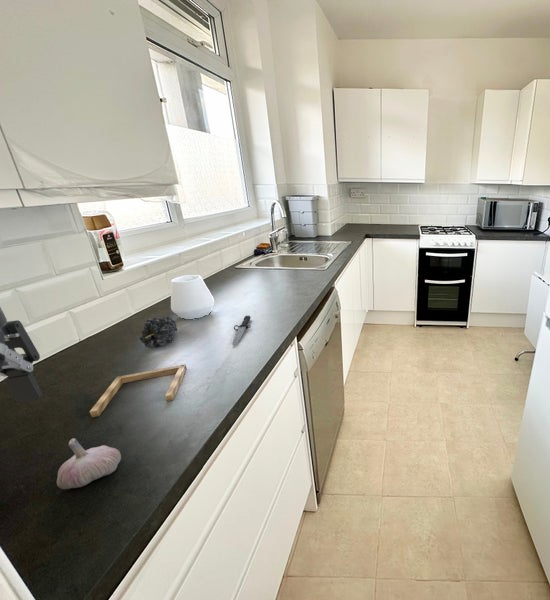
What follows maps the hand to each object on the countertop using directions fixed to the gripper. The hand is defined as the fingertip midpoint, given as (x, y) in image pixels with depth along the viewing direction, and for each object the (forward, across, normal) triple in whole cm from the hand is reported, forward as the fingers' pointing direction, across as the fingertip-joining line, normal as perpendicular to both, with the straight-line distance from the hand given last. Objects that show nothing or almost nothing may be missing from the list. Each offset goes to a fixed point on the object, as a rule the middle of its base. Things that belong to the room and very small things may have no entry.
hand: (7, 421), depth 37 cm
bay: (+19, -33, -1) cm, 38 cm away
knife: (+19, -57, +18) cm, 63 cm away
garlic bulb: (+19, -10, -1) cm, 21 cm away
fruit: (+19, -62, -3) cm, 65 cm away
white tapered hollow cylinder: (+19, -80, +2) cm, 82 cm away
